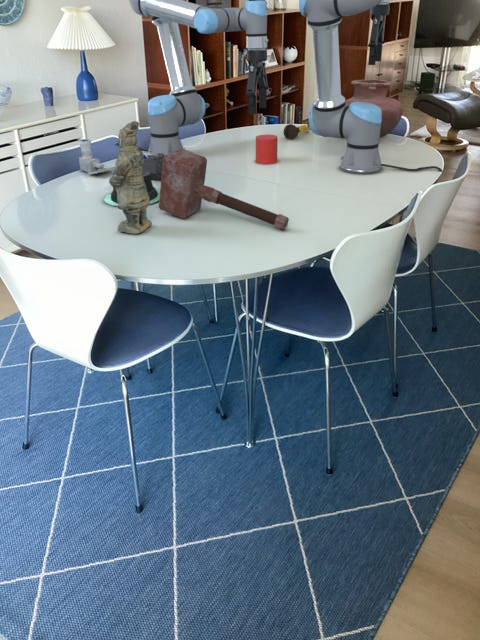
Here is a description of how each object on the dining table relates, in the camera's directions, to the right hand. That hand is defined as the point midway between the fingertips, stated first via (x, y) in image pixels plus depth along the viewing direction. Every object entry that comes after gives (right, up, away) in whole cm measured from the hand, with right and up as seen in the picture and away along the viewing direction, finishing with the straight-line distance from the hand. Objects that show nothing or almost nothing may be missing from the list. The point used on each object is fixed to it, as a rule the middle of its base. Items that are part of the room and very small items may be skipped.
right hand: (374, 63), depth 229 cm
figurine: (-27, -18, +36) cm, 48 cm away
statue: (-86, -79, -67) cm, 135 cm away
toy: (-89, -53, -22) cm, 106 cm away
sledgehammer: (-60, -76, -62) cm, 115 cm away
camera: (-111, -49, -14) cm, 122 cm away
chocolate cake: (-91, -65, -41) cm, 119 cm away
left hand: (-49, -26, -16) cm, 58 cm away
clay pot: (+2, -24, +25) cm, 34 cm away
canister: (-45, -42, -4) cm, 61 cm away
